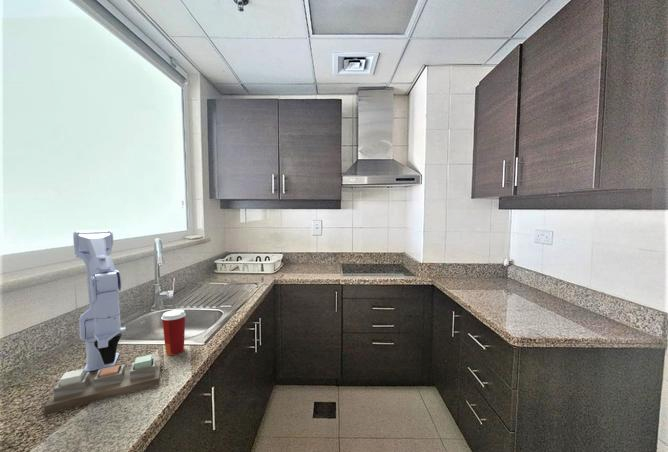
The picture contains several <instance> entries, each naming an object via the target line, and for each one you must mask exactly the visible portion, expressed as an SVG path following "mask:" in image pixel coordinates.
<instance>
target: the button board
mask: <svg viewBox="0 0 668 452" xmlns="http://www.w3.org/2000/svg"><path fill="white" fill-rule="evenodd" d="M161 363H162V362H161V359H159V360H157V357H152V366H149V367H145V368H141V369H136V370H135V365H134V364H135V361H133V362H132V363H131V366H126V367H125V363H123V364H119V365H120V372H119V373H118V374H114V375H109V376H105V377H100V378H99V375H100V373H101V371H102V369H98V371H97V372H96V373H94V374H91V371H89V372H84V376H85V377H84V379H83V380H82V382H78V383H74V384H69V385H65V386H60V380H59V381H58V382H57V384H56V385H55V387H54V388H53V393H52V394H51V396H50V397H49V399H48V400H47V401H46V403H45V405H44V407H43V408H44V414H45V415H46V414H51V413H54V412H55V413H56V412H59V411H63V410H68V409H70V408H74V407H78V406H82V405H86V404H90V403H94V402H97V401H98V402H99V401H102V400H105V399H106V400H107V399H110V398H114V397H117V395H118V396H122V395H125V394H130V393H133V392H139V391H142V390H144V389H149V388H155V387H157V386H160V379H161V365H162V364H161Z"/></svg>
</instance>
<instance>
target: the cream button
mask: <svg viewBox="0 0 668 452" xmlns="http://www.w3.org/2000/svg"><path fill="white" fill-rule="evenodd" d="M84 373H85V372H84V368H80V369H76V370H70V371H65V372H64V373H63V375H62V376H61V378H60V379H59V381H60V386H65V385H69V384H74V383H78V382H82V380H83V379H84V377H85V376H84Z"/></svg>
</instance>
